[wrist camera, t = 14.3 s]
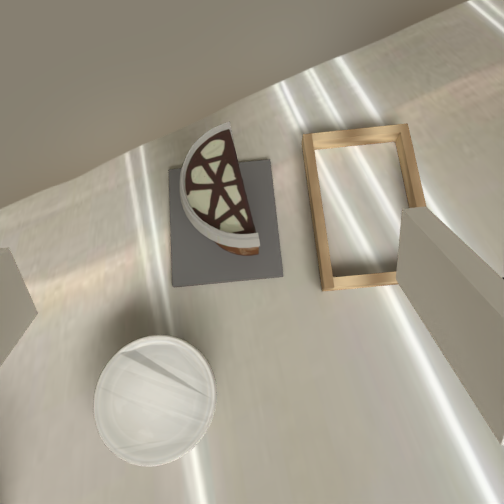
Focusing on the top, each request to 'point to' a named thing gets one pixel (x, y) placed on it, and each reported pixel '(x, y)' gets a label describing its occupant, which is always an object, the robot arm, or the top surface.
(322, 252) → the oak frame
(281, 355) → the top surface
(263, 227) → the charcoal mat
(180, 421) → the ramekin
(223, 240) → the food container
